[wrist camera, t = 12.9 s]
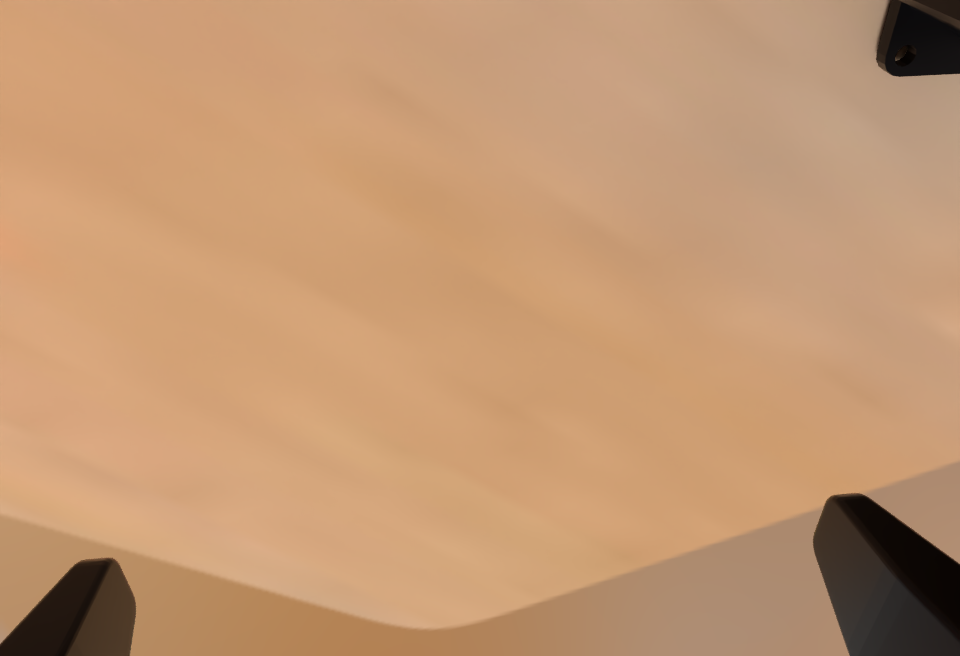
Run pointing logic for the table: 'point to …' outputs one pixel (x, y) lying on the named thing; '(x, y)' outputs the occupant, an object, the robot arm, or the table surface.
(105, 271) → the table surface
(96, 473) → the table surface
